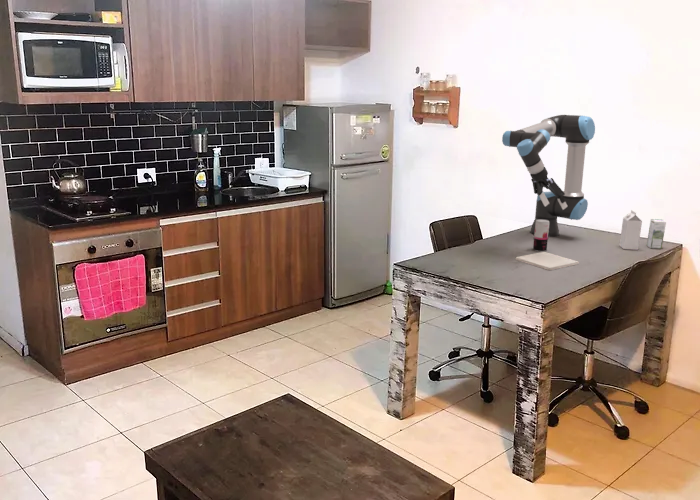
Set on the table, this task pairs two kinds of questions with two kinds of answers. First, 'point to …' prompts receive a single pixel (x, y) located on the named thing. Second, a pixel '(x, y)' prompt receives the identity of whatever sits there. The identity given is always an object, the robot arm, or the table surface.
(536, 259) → the ceramic tile
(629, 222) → the milk carton
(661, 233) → the syrup box
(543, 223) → the beverage can
